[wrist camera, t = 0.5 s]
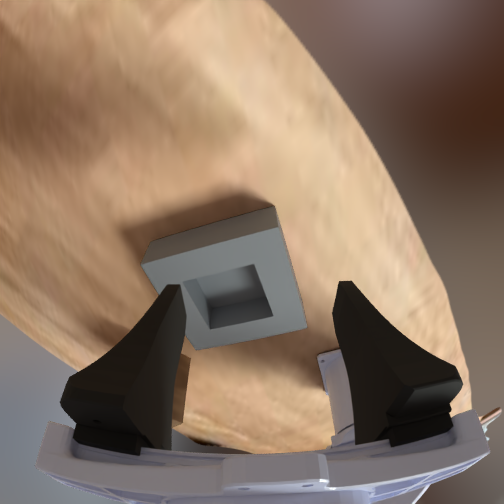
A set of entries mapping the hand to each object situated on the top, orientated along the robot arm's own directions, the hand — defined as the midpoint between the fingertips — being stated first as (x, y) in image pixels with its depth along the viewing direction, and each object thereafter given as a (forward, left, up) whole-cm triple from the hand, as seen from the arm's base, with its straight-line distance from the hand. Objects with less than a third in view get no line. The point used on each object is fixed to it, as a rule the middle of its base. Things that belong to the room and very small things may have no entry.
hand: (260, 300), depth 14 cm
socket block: (-6, +4, -10) cm, 12 cm away
